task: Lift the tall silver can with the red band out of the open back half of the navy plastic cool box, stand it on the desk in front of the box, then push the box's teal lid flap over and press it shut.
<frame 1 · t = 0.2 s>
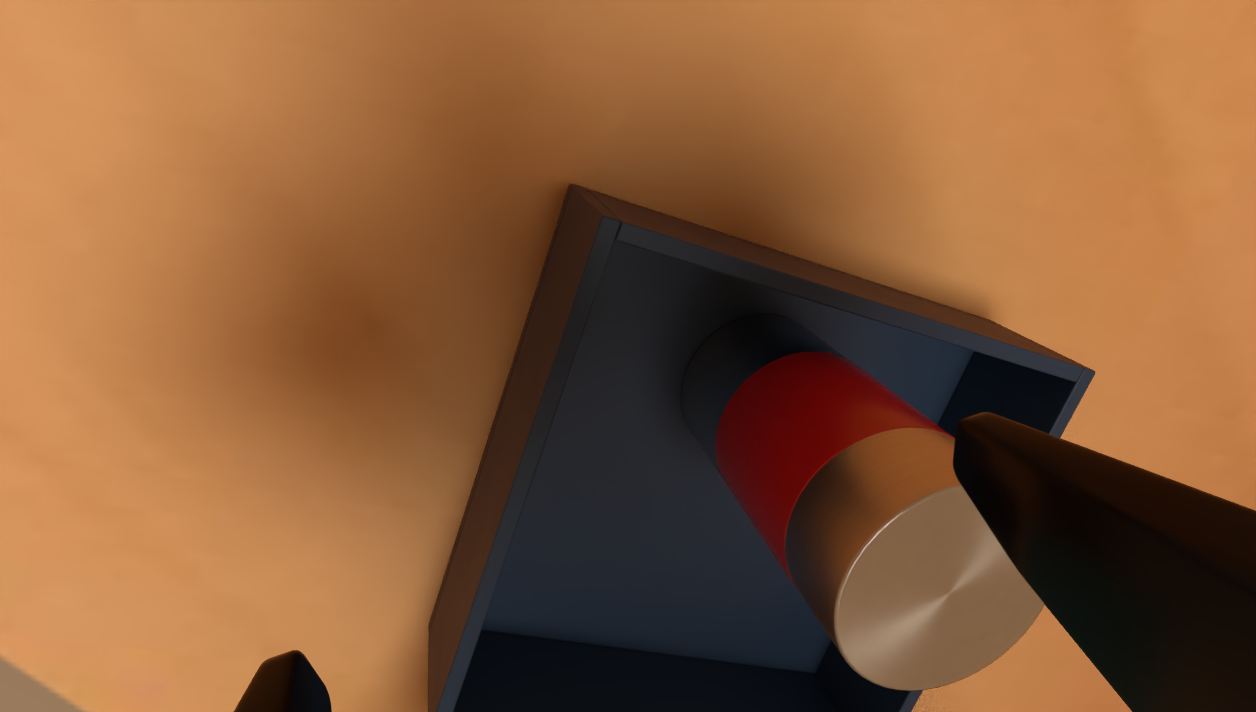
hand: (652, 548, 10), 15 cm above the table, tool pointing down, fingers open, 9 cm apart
cooler: (713, 470, 28), on the table
can: (755, 387, 26), resting on cooler
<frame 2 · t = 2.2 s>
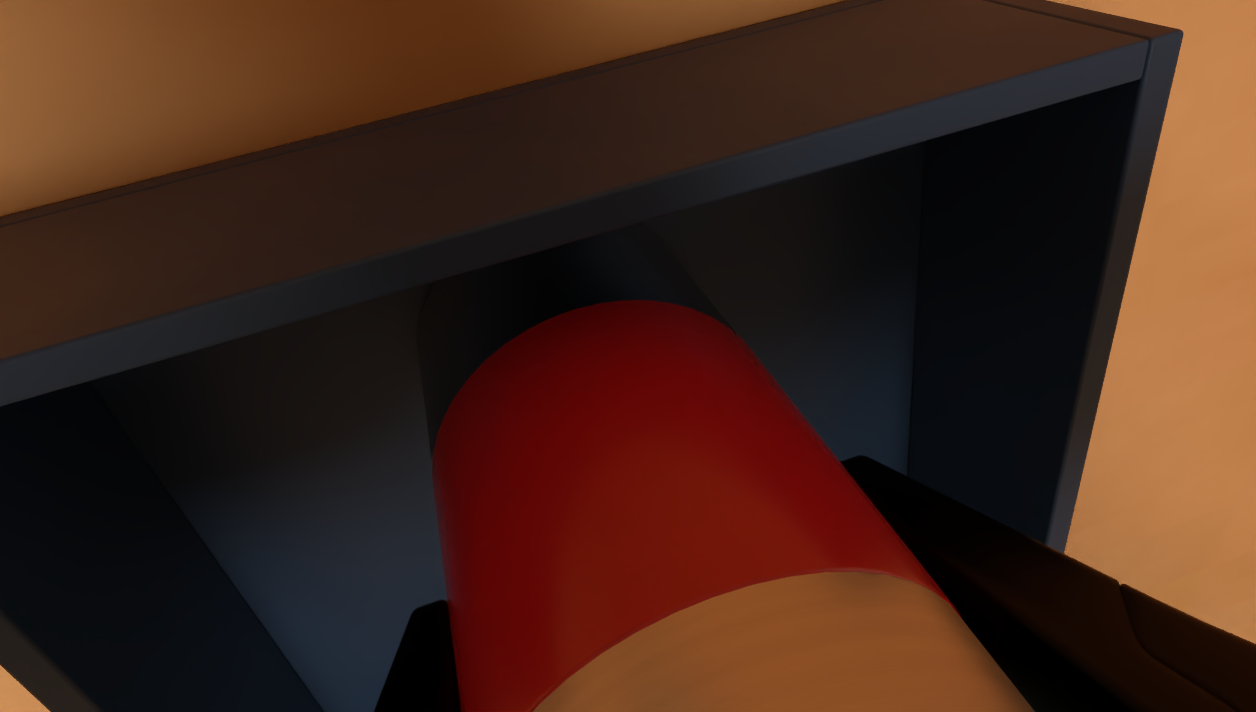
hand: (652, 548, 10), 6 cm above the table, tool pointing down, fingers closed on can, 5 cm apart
cooler: (590, 456, 17), on the table
can: (560, 336, 15), point 1 cm above the table, touching cooler, gripper
when the fingers open (6 cm above the table, at t = 7.1 s): can stays where it is, on the table.
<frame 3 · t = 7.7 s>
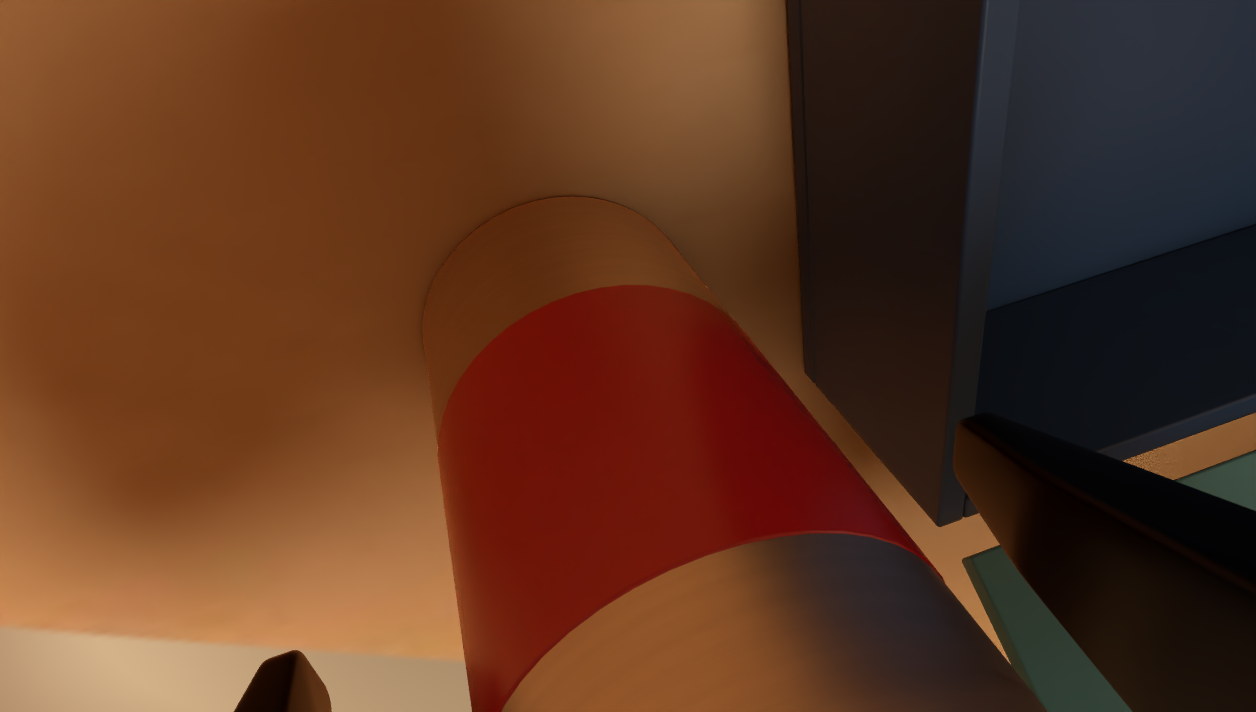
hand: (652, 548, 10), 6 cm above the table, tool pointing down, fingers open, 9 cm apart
can: (561, 324, 15), on the table
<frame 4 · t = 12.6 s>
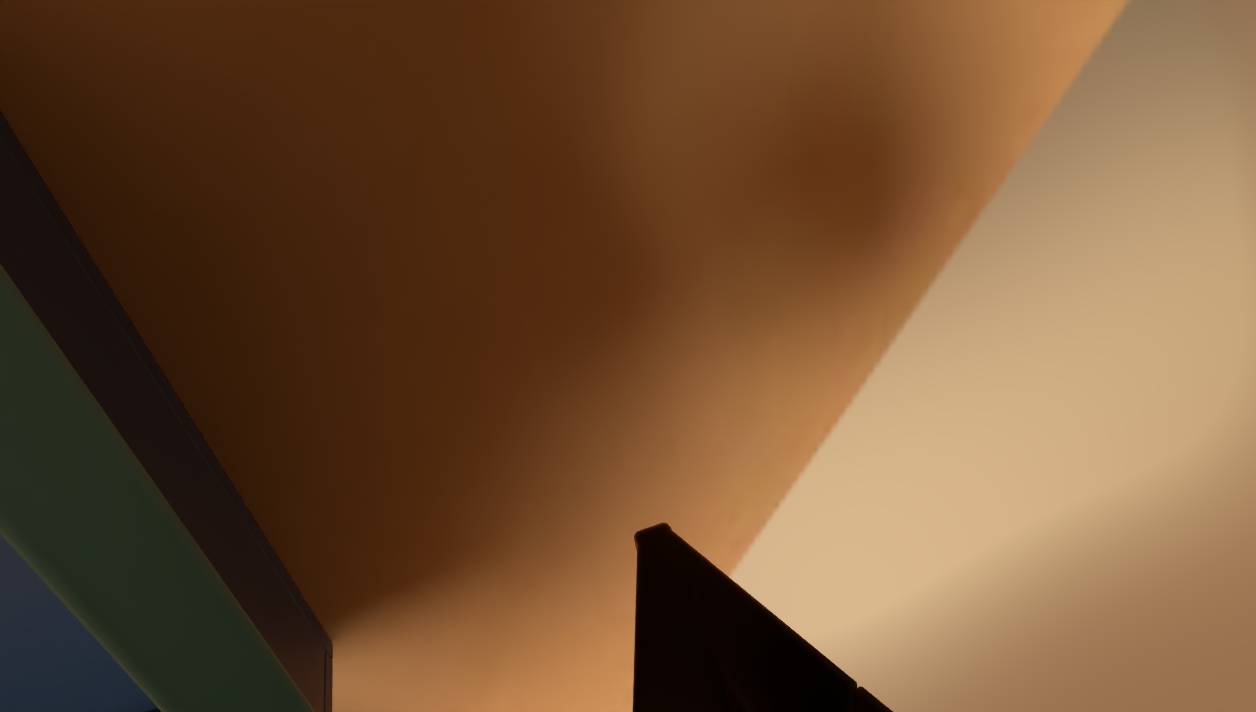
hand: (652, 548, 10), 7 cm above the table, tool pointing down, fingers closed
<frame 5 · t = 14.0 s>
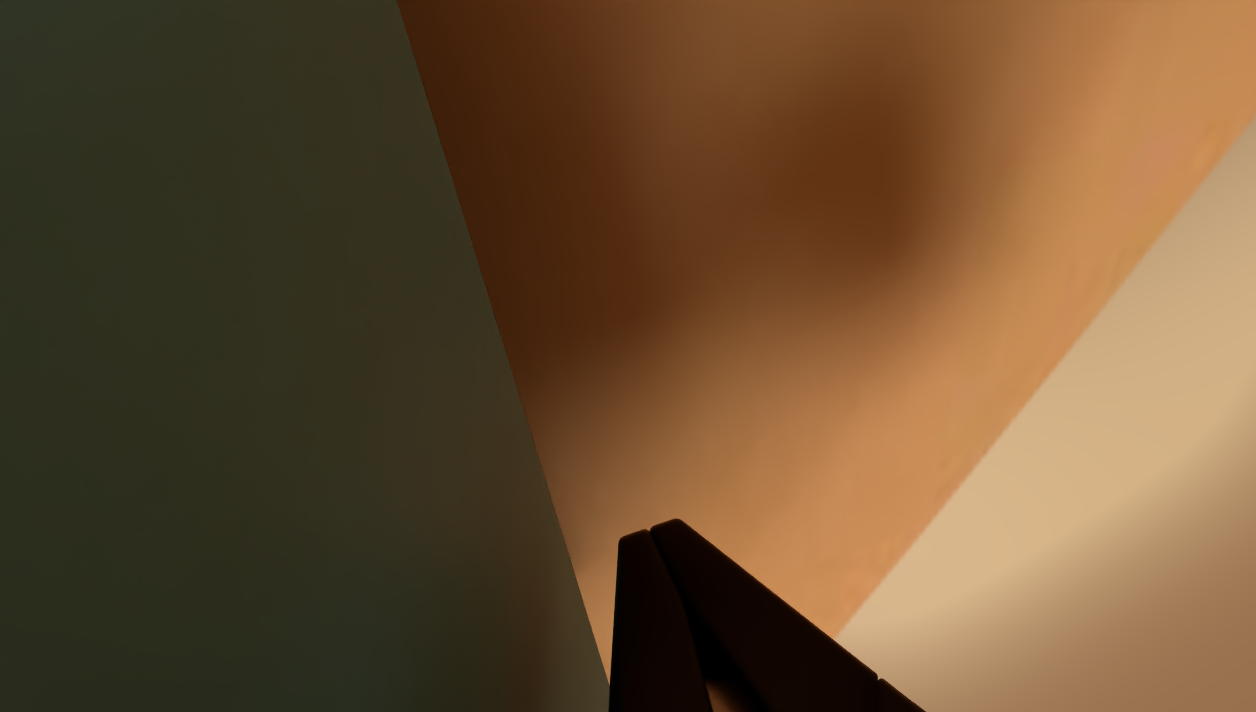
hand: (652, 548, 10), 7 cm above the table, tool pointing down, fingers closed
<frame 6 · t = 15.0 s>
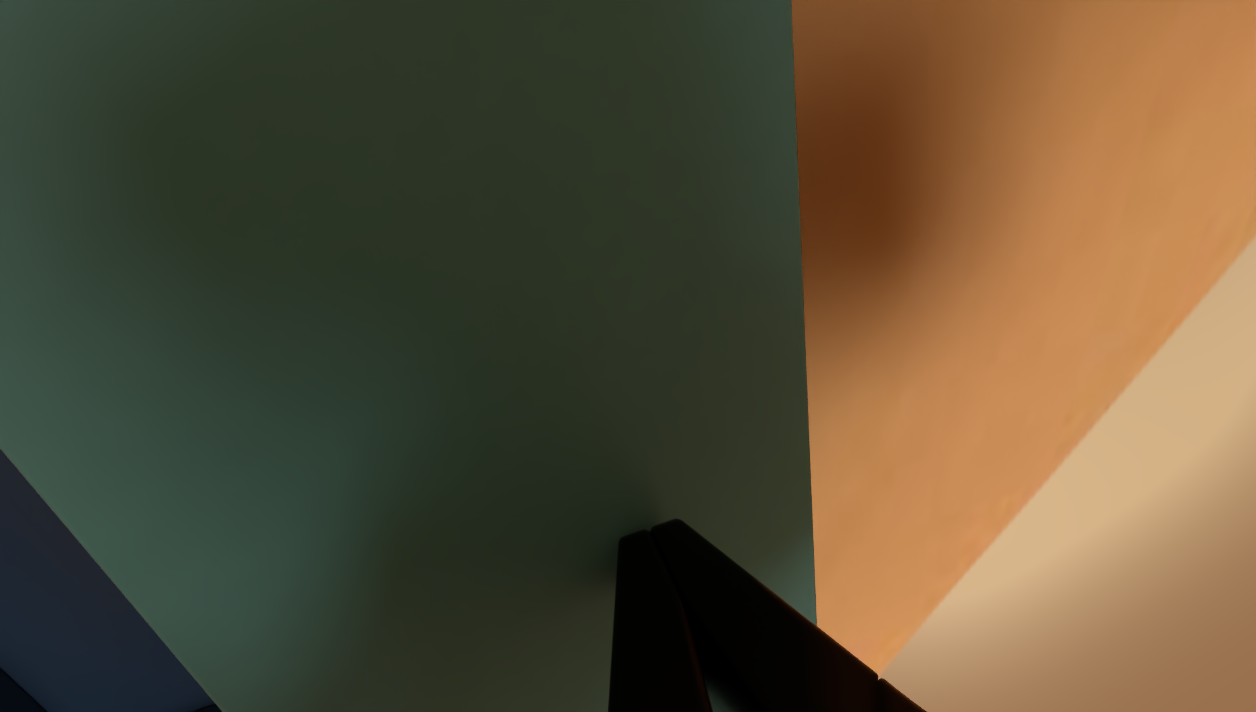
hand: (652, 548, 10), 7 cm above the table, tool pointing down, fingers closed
cooler lid: (576, 571, 10), point 7 cm above the table, hinge at 18.0°, touching gripper
cooler: (285, 378, 15), on the table
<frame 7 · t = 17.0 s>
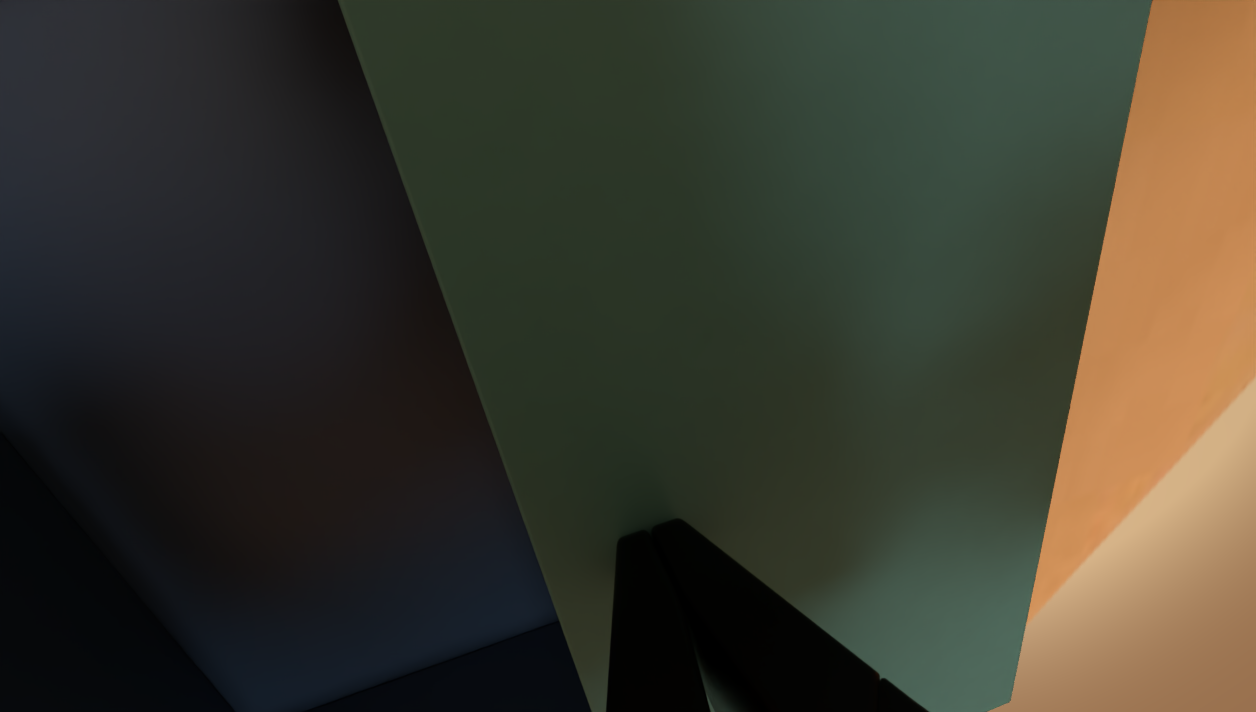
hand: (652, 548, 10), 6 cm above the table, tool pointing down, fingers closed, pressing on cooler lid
cooler lid: (817, 476, 11), point 6 cm above the table, hinge at 0.7°, touching gripper
cooler: (480, 350, 15), on the table
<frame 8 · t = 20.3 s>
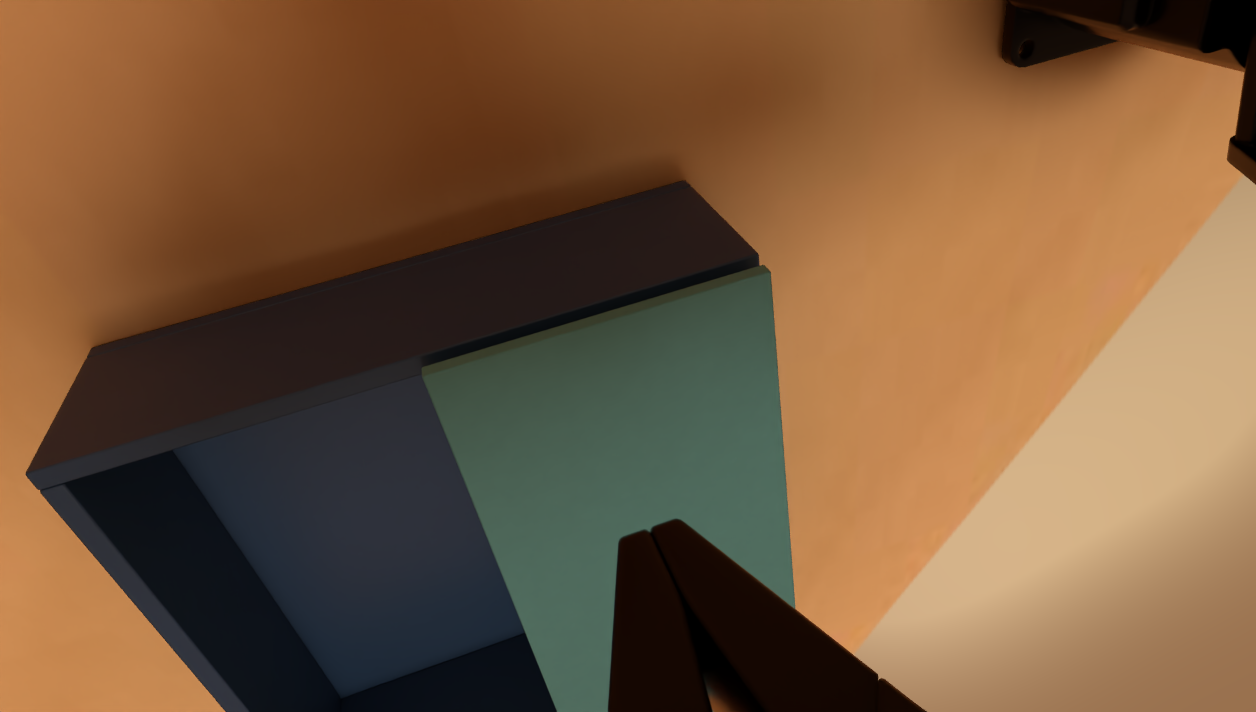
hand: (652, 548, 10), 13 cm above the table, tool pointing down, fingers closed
cooler lid: (654, 559, 22), point 6 cm above the table, hinge at -0.2°
cooler: (485, 474, 26), on the table
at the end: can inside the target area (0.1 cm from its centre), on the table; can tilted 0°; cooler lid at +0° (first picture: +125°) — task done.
